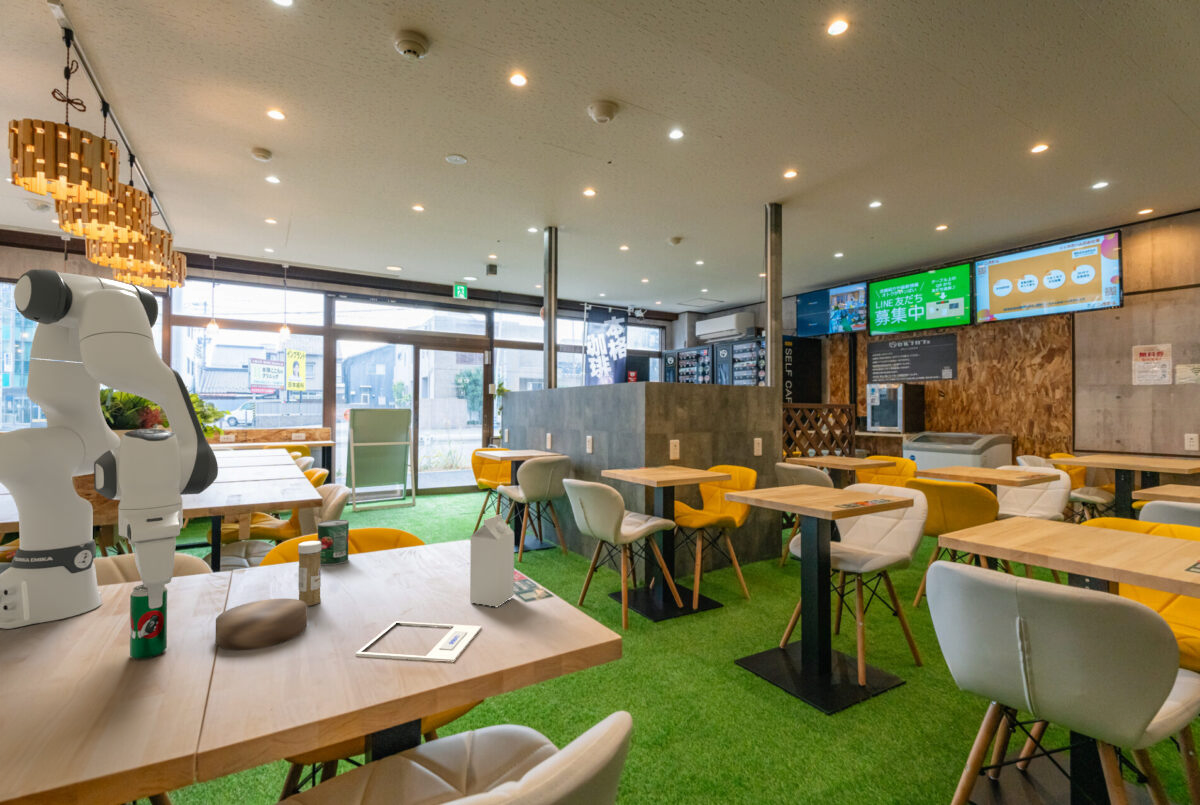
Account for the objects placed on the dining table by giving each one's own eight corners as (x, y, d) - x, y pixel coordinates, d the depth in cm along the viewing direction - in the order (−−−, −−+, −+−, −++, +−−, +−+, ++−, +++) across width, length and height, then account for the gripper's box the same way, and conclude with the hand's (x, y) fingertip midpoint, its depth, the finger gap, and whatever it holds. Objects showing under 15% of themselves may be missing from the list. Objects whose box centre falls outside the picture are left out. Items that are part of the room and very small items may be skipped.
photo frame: (453, 658, 96) (355, 652, 98) (453, 664, 96) (355, 658, 98) (481, 625, 110) (395, 620, 112) (481, 630, 110) (395, 625, 112)
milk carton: (469, 603, 124) (470, 518, 124) (487, 593, 130) (488, 512, 130) (497, 608, 121) (497, 521, 121) (514, 598, 128) (514, 515, 128)
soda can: (174, 648, 100) (174, 582, 100) (148, 661, 95) (149, 591, 95) (148, 647, 101) (149, 581, 101) (121, 660, 96) (122, 590, 96)
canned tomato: (310, 564, 152) (311, 524, 153) (329, 557, 160) (329, 518, 160) (336, 566, 151) (337, 526, 151) (354, 558, 159) (354, 520, 159)
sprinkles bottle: (322, 604, 123) (322, 543, 123) (298, 608, 120) (299, 546, 120) (319, 598, 126) (320, 539, 126) (296, 602, 124) (297, 541, 124)
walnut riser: (195, 648, 100) (195, 626, 100) (250, 617, 115) (251, 597, 115) (276, 651, 99) (276, 628, 99) (321, 618, 114) (321, 599, 114)
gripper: (124, 516, 103) (125, 590, 103) (132, 533, 88) (133, 620, 88) (167, 511, 108) (168, 582, 108) (181, 527, 93) (182, 610, 93)
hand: (152, 600), depth 98 cm, fingers open, 8 cm apart
